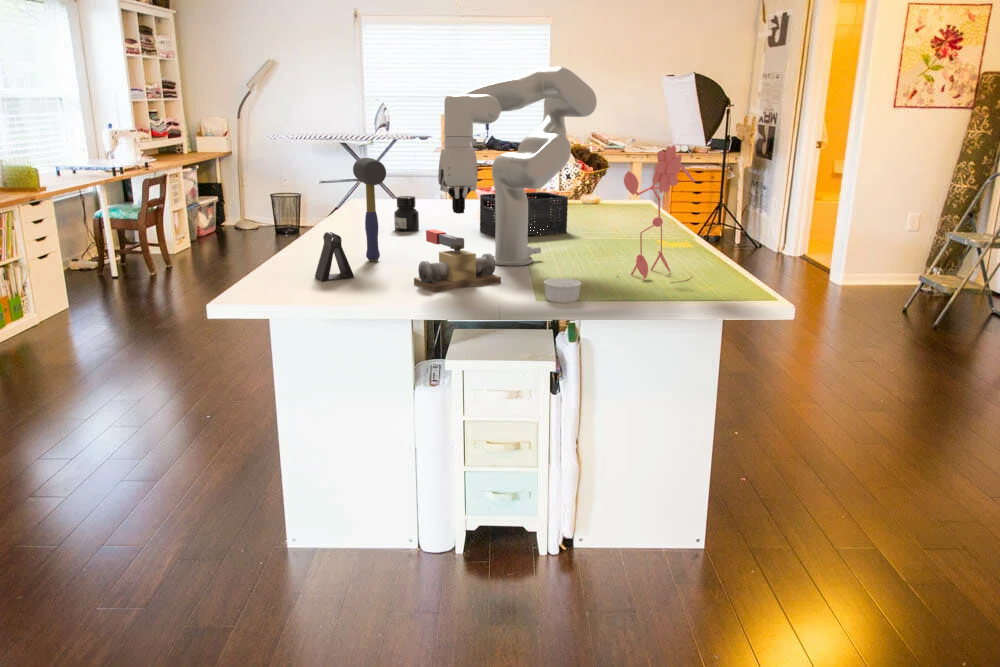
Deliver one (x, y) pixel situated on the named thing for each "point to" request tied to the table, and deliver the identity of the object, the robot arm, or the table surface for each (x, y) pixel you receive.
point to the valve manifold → (457, 271)
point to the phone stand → (326, 260)
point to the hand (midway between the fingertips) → (458, 212)
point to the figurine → (665, 177)
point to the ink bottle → (406, 214)
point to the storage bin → (531, 213)
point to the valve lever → (444, 239)
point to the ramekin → (562, 290)
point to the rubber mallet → (370, 200)
